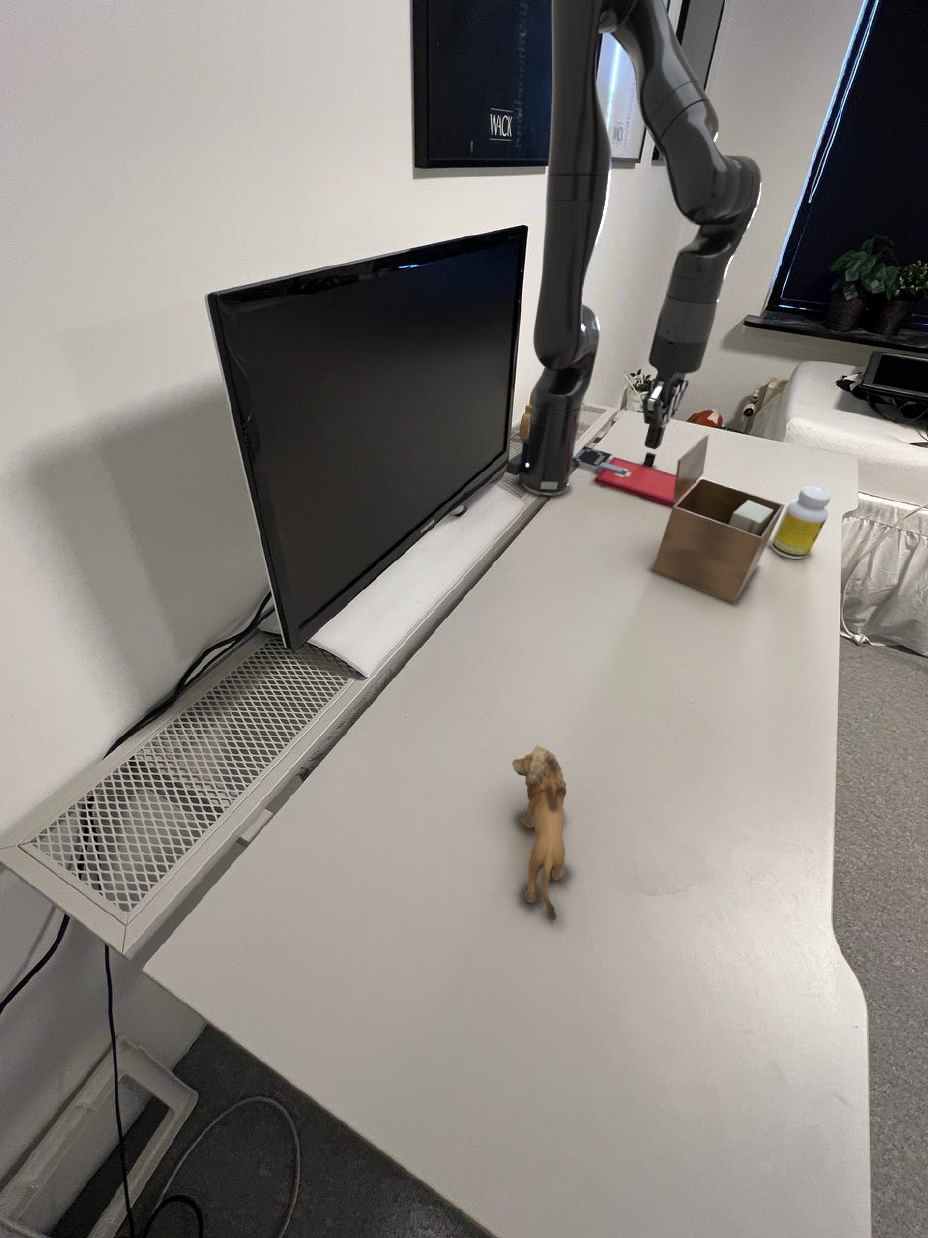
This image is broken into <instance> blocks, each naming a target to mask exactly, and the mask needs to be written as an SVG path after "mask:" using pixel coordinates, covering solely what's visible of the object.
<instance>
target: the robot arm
mask: <svg viewBox="0 0 928 1238" xmlns="http://www.w3.org/2000/svg"><path fill="white" fill-rule="evenodd" d="M599 34H609V35H611V36H612V38H614V40H615V41H616V42H617V43H618V44H619V46H621V48H622V49H623V50H624V52H625V53H626V55H627V56H628V58H629V60H630V62H631V65H632V67H633V71H634V77H635V89H636V90H635V91H636V101H637V106H638V111H639V114H640V117H641V119H642V122H643V125H644V126H645V128H646V130H647V132H648V134H649V136H650V138H651V140H652V141H653V143H654V145H655V147H656V148H657V150H658V152H659V154H660V155H661V157H662V158H663V161H664V164H665V169H666V173H667V174H666V175H667V178H668V181H669V186H670V190H671V193H672V194H671V195H672V198H673V200H674V203H675V205H676V207H677V209H678V211H679V212H680V214H681V215H682V216H683V217H684V219H685V220H687V222H689V223H691V224H692V225H694V226H698V229H697V232H696V234H695V236H694V238H693V240H692V241H691V242H690V243H688V244H687V245H685V246H683V247H682V248H681V249H680V250H678V252H676V255H675V257H674V260H673V263H672V267H671V272H670V276H669V280H668V284H667V288H666V292H665V296H664V299H663V302H662V305H661V308H660V310H659V313H658V318H657V322H656V326H655V330H654V334H653V339H652V342H651V343H652V344H651V346H650V352H649V355H648V364H649V365H650V366H651V367H652V368H654V369H656V371H657V373H656V375H655V377H654V378H653V380H652V381H651V385H650V392H651V394H650V395H649V396H646V395H645V396H644V397H643V399H642V412H643V423H644V424H646V425H648V429H647V433H646V436H645V440H644V446H645V447H646V448H649V449H652V450H657V449H658V448H659V447H660V446H662V443H663V442H662V441H663V438H664V434H665V431H666V427H667V425H668V424H669V423H670V421H671V418H673V417H674V416H675V414H676V411H677V409H678V408H679V405H680V404H681V401H682V399H683V397H684V395H685V393H686V390H687V388H688V387H689V385H690V380H687V379H685V378H686V376H687V374H693V373H696V372H698V371H699V370H700V368H701V366H702V363H703V360H704V356H705V353H706V349H707V346H708V343H709V340H710V335H711V332H712V329H713V325H714V323H715V320H716V319H715V318H716V313H717V307H718V303H719V299H720V295H721V292H722V289H723V288H722V287H723V285H724V281H725V278H726V275H727V270H728V268H729V267H728V266H729V264H730V262H731V260H732V259H733V257H734V255H735V253H736V251H737V250H738V248H739V246H740V244H741V242H742V240H743V237H744V236H745V234H746V232H747V230H748V228H749V226H750V223H751V221H752V219H753V217H754V215H755V212H756V210H757V206H758V204H759V201H760V196H761V191H762V173H761V169H760V167H759V165H758V163H757V162H756V160H754V159H753V158H751V157H749V156H746V155H723V154H722V153H721V151H720V150H719V148H718V147H717V145H716V142H715V141H716V139H717V137H718V133H719V130H720V122H719V116H718V114H717V111H716V109H715V107H714V105H713V104H712V102H711V100H710V99H709V97H708V95H707V93H706V91H705V89H704V87H703V86H702V84H701V83H700V80H699V79H698V77H697V75H696V74H695V72H694V70H693V68H692V67H691V65H690V63H689V61H688V59H687V57H686V55H685V53H684V51H683V48H682V47H681V45H680V42H679V40H678V37H677V34H676V32H675V29H674V27H673V24H672V21H671V19H670V16H669V13H668V10H667V7H666V5H665V2H664V0H551V56H552V59H551V61H552V63H551V65H552V68H551V69H552V75H551V76H552V77H551V78H552V79H551V80H552V83H551V84H552V85H551V86H552V87H551V88H552V89H551V90H552V91H551V114H550V115H551V118H550V119H551V120H550V140H549V154H548V166H547V177H546V193H545V194H546V195H545V219H544V233H543V234H544V235H543V247H542V248H543V249H542V267H541V268H542V269H541V281H540V286H539V287H540V288H539V295H538V302H537V308H536V313H535V314H536V315H535V321H534V326H533V327H534V328H533V335H532V336H533V337H532V338H533V341H532V342H533V349H534V353H535V355H536V358H537V360H538V361H539V363H540V364H541V365H542V366H543V367H544V368H543V370H542V373H541V374H540V376H539V378H538V380H537V381H536V383H535V384H534V388H533V393H532V401H531V402H532V403H531V408H530V417H529V426H528V434H527V437H525V438H524V439H522V448H521V452H520V453H517V454H516V455H515V456H513V457H512V458H510V459H509V460H507V461H508V465H507V469H506V468H505V472H506V473H508V474H510V475H513V476H518V480H517V484H518V485H520V486H522V488H523V489H524V490H525V491H527V492H528V493H530V494H532V495H536V496H538V497H539V496H540V497H550V498H551V497H557V496H558V497H559V496H561V495H563V494H565V493H566V492H567V491H568V489H569V482H570V475H571V470H572V465H573V461H572V459H573V457H574V454H575V447H576V442H577V435H578V432H579V431H578V430H579V424H580V420H581V414H582V408H583V405H584V398H585V395H586V393H587V392H588V389H589V387H590V384H591V381H592V377H593V372H594V368H595V362H596V358H597V353H598V349H599V344H600V343H599V342H600V324H599V320H598V317H597V315H596V314H595V313H594V311H593V310H592V308H590V307H588V306H587V305H586V304H583V299H584V290H585V289H584V288H585V281H586V277H587V273H588V269H589V265H590V262H591V260H592V257H593V254H594V251H595V248H596V246H597V242H598V239H599V237H600V234H601V231H602V228H603V224H604V220H605V217H606V213H607V208H608V200H609V191H610V183H611V176H612V175H611V173H612V163H613V161H612V160H613V158H612V157H613V156H612V148H611V147H612V146H611V143H610V137H609V133H608V128H607V125H606V121H605V117H604V114H603V110H602V107H601V103H600V98H599V93H598V85H597V55H598V42H599V41H598V40H599Z"/></svg>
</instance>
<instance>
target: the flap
mask: <svg viewBox="0 0 928 1238" xmlns="http://www.w3.org/2000/svg"><path fill="white" fill-rule="evenodd" d="M709 435H710V434H709V433H706V434H704V435H703V436H702V437H701V438H700V439H699V440H698V441H697V442H696V443H695V444H694V445H692V446H691V448H690V449H689V450H688V451H686V452H685V453H684V454H683V455H682V456H681V457H680V458H678V460H677V465H676V472H675V475H676V480H675V489H674V497H673V502H674V503H675V502H676V501H677V500H678V499H679V498H680V497H681V496H682V495H683V494H684V493H685V492H686V491H687V490H688V489H689V488H690V487H691V486H692V485H693V484H694V483H695V482H696V481H698V480H699V479H700V478H701V477H702V476H703V475H704V471H705V470H704V469H705V463H706V455H707V450H708V449H707V448H708V442H709Z"/></svg>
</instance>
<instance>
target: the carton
mask: <svg viewBox="0 0 928 1238" xmlns="http://www.w3.org/2000/svg"><path fill="white" fill-rule="evenodd" d="M748 500H750V501H752V502H755V503H757V504H760V505H762V506H765V507H767V508H770V509H773V512H772V514H771V517H770V519H769V521H768V523H767V526H766V528H765V530H764V532H763V534H762V536H761V537H760V536H757V535H755V534H752V533H749V532H746V531H743V530H741V529H738V528H735V527H732V526H729V522H730V520H731V517H732V515H733V513H734V512H735V511H736V510H737V509H738V508H739V507H740V506H741V505H743V504H744V503H745V502H746V501H748ZM785 506H786V505H785V504H783V503H780V502H777V501H775V500H772V499H768V498H766V497H762V496H759V495H756V494H753V493H750V492H747V491H744V490H741V489H738V488H735V487H732V486H729V485H725V484H722V483H719V482H716V481H714V480H710V479H708V478H704V477H699V479H698V480H697V482H696V483H695V484H694V485H693V486H692V487H691V488H690V489H689V490H688V491H687V492H686V493H685V495H684V496H683V497H682V498H681V499H680V500H679V501H678V502H677V503H676V504H675V505H674V506H672V508H671V512H670V515H669V517H668V521H667V524H666V527H665V529H664V532H663V536H662V540H661V542H660V545H659V549H658V551H657V554H656V558H655V561H654V564H653V567H652V572H654V573H657V574H660V575H662V576H665V577H667V578H668V579H671V580H674V581H677V582H678V583H681V584H684V585H686V586H688V587H691V588H693V589H696V590H698V591H701V592H703V593H706V594H707V595H710V596H713V597H716V598H718V599H720V600H723V601H725V602H728V603H730V604H732V605H734V604H735V602H736V600H737V599H738V597H739V596H740V594H741V592H742V591H743V589H744V588H745V586H746V585H747V583H748V581H749V580H750V578H751V576H752V575H753V573H754V571H756V568H757V567H758V564H759V562H760V561H761V558H762V556H763V554H764V551H765V549H766V547H767V546H768V542H769V540H770V538H771V536H772V534H773V532H774V530H775V527H776V526H777V523H778V521H779V519H780V516H781V515H782V512H783V510H784V509H785Z"/></svg>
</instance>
